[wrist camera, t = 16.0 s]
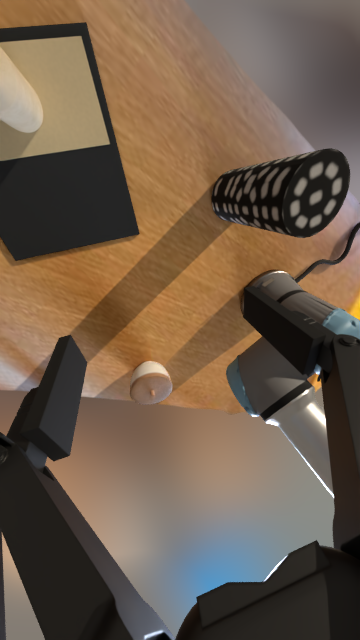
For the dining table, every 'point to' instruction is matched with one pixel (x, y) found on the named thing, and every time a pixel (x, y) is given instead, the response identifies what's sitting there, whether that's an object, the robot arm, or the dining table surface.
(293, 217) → the spotted tube
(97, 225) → the table mat
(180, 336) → the dining table surface
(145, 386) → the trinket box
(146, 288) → the dining table surface
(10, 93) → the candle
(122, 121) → the dining table surface
